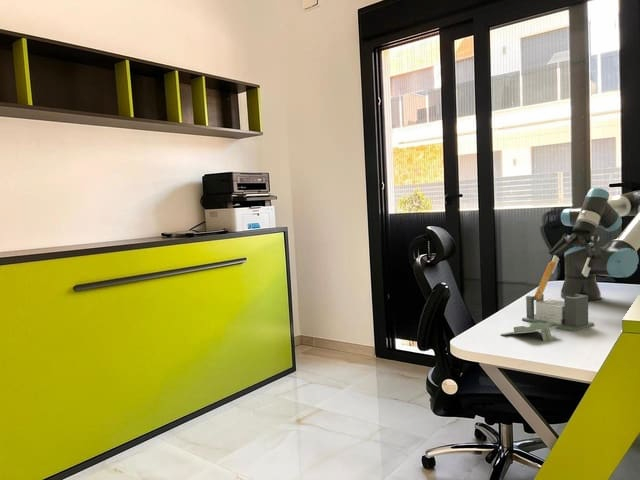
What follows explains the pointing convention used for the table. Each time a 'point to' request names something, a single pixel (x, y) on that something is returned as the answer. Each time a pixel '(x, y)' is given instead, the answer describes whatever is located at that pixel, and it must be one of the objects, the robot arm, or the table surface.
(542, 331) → the metal bracket
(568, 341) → the table surface
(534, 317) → the grey green railed plate
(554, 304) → the heat sink
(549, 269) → the strap
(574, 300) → the slotted lug
